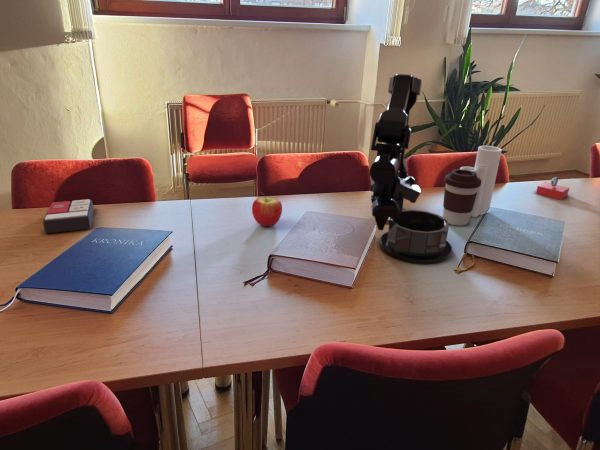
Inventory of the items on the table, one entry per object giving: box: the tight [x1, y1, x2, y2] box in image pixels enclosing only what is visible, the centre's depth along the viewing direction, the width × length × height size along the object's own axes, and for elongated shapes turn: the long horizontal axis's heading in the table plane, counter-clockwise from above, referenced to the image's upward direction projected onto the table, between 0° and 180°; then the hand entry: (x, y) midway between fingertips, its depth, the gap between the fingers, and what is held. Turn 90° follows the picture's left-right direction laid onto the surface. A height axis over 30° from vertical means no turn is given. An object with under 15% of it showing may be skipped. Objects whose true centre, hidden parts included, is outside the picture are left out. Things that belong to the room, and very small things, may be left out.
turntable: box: [379, 231, 453, 265], centre depth 114 cm, size 18×18×1 cm
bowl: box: [385, 209, 450, 256], centre depth 113 cm, size 17×14×6 cm
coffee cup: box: [442, 168, 481, 226], centre depth 128 cm, size 10×10×15 cm
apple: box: [251, 191, 283, 227], centre depth 124 cm, size 8×8×10 cm
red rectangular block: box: [535, 176, 570, 200], centre depth 154 cm, size 8×7×6 cm
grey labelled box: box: [42, 198, 94, 234], centre depth 124 cm, size 11×4×15 cm
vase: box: [459, 145, 503, 218], centre depth 134 cm, size 11×7×20 cm, turn 111°
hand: (380, 227), depth 114 cm, fingers closed on bowl, 2 cm apart
